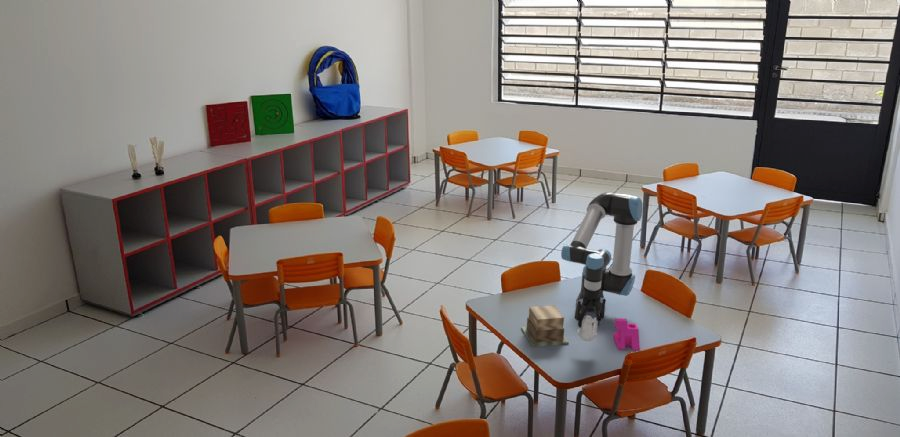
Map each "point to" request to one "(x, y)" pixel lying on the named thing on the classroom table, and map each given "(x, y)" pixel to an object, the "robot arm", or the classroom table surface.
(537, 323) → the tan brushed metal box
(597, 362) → the classroom table surface
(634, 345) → the bracket
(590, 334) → the seated beast figurine
